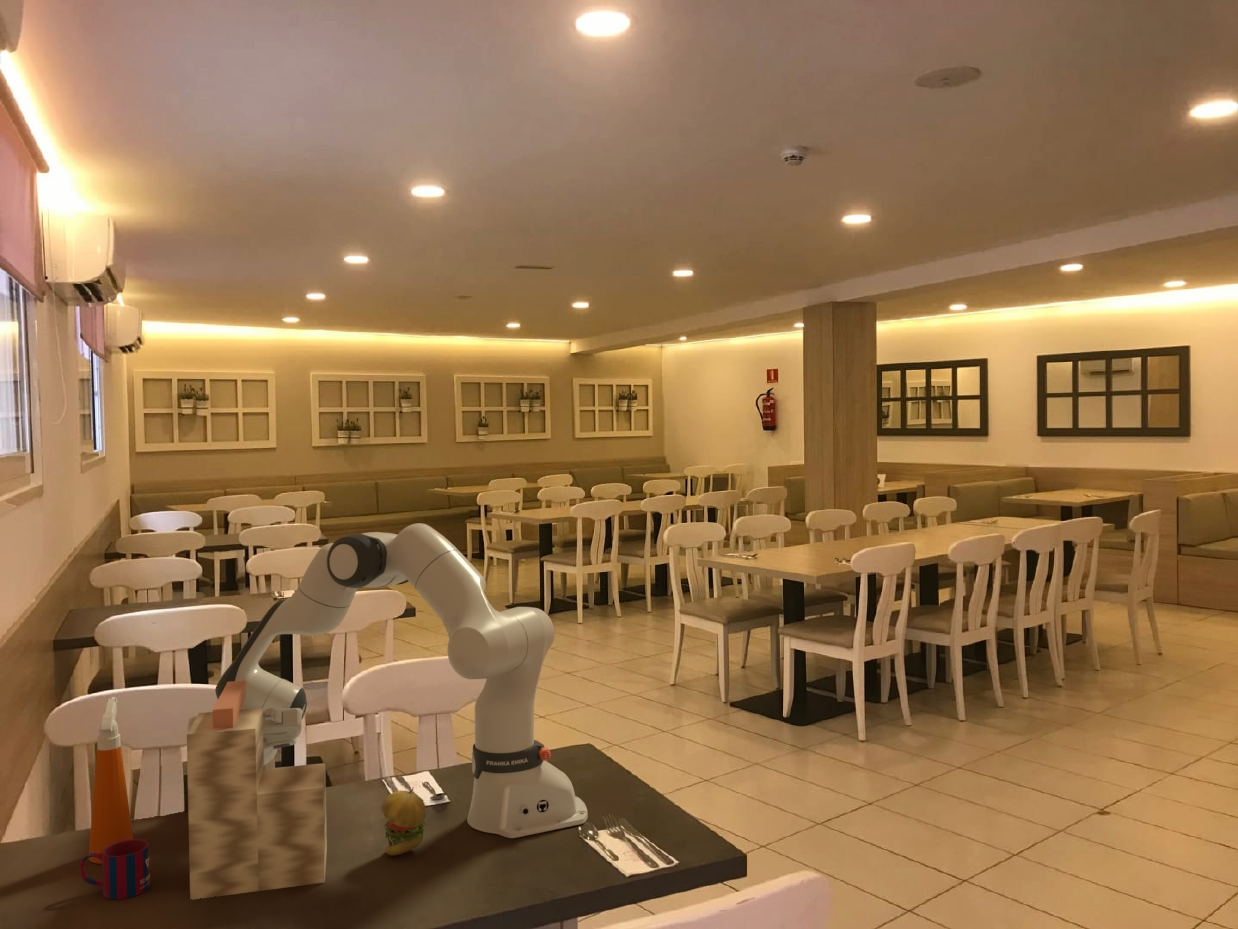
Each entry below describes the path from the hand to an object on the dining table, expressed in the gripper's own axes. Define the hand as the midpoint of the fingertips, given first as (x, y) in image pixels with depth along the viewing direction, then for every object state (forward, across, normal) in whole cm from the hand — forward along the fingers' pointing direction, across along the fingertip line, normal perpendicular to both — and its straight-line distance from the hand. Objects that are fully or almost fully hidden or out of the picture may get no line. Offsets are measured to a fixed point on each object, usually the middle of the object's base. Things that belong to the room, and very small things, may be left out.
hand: (242, 714), depth 174 cm
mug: (+7, -17, +28) cm, 34 cm away
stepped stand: (+8, +5, +29) cm, 30 cm away
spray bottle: (-7, -21, +20) cm, 30 cm away
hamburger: (+7, +28, +28) cm, 40 cm away
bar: (+16, 0, +4) cm, 17 cm away
